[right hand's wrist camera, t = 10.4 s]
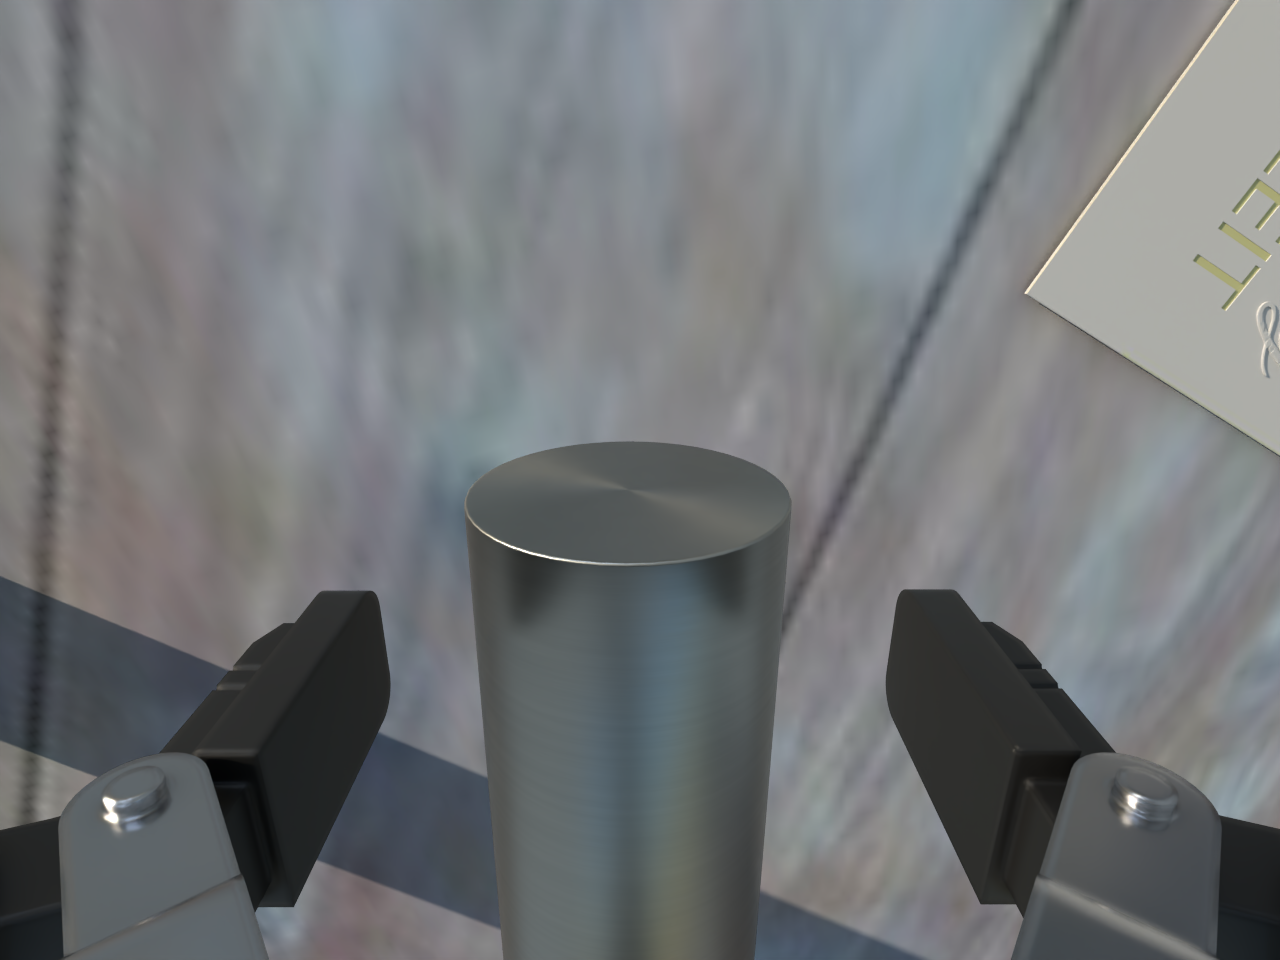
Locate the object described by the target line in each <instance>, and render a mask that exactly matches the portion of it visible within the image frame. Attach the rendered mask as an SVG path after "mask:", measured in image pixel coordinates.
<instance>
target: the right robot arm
mask: <svg viewBox="0 0 1280 960" xmlns="http://www.w3.org/2000/svg"><path fill="white" fill-rule="evenodd" d="M886 695H887V701H888V706H889V710H890V713H891V716H892V719H893V721H894V723H895V725H896V727H897V729H898V731H899V733H900V735H901V738H902V740H903V742H904V744H905V746H906V748H907V750H908V752H909V754H910V756H911V759H912V761H913V763H914V765H915V767H916V769H917V771H918V773H919V775H920V778H921V780H922V782H923V784H924V786H925V788H926V790H927V792H928V794H929V796H930V799H931V801H932V803H933V805H934V807H935V809H936V811H937V813H938V815H939V817H940V820H941V822H942V824H943V826H944V828H945V830H946V832H947V834H948V836H949V839H950V841H951V843H952V845H953V847H954V849H955V851H956V853H957V855H958V857H959V860H960V862H961V864H962V866H963V868H964V870H965V872H966V874H967V876H968V879H969V881H970V883H971V885H972V887H973V889H974V891H975V893H976V895H977V897H978V900H979V902H980V904H1016V905H1017V907H1018V909H1019V911H1020V913H1021V914H1022V916H1023V918H1024V919H1023V922H1022V925H1021V928H1020V932H1019V935H1018V938H1017V941H1016V945H1015V948H1014V951H1013V954H1012V958H1011V960H1280V829H1277V828H1273V827H1268V826H1264V825H1259V824H1255V823H1251V822H1246V821H1242V820H1237V819H1233V818H1228V817H1224V816H1220V815H1218V812H1217V811H1216V809H1215V808H1214V806H1213V804H1212V803H1211V802H1210V801H1209V800H1208V799H1207V797H1206V796H1205V795H1204V794H1203V793H1202V792H1201V791H1199V790H1198V789H1197V788H1196V787H1195V786H1194V785H1192V784H1191V783H1189V782H1188V781H1187V780H1185V779H1184V778H1182V777H1181V776H1179V775H1177V774H1176V773H1174V772H1172V771H1170V770H1168V769H1166V768H1164V767H1162V766H1160V765H1158V764H1155V763H1153V762H1150V761H1148V760H1145V759H1141V758H1138V757H1135V756H1130V755H1126V754H1119V753H1116V752H1115V751H1114V750H1113V749H1112V747H1111V746H1110V745H1109V744H1108V743H1107V742H1106V740H1105V739H1104V738H1103V737H1102V736H1101V734H1100V733H1099V732H1098V731H1097V730H1096V728H1095V727H1094V726H1093V725H1092V724H1091V723H1090V721H1089V720H1088V719H1087V718H1086V717H1085V715H1084V714H1083V713H1082V712H1081V711H1080V709H1079V708H1078V707H1077V706H1076V705H1075V704H1074V702H1073V701H1072V700H1071V699H1070V698H1069V696H1068V695H1067V694H1066V693H1065V692H1064V690H1063V689H1058V683H1057V682H1056V681H1055V680H1054V679H1053V677H1052V676H1051V675H1050V674H1049V673H1048V671H1047V670H1046V669H1042V664H1041V663H1040V662H1039V661H1038V660H1037V658H1036V657H1035V656H1034V655H1033V654H1032V652H1031V651H1030V650H1029V649H1028V648H1027V646H1026V645H1025V644H1024V643H1023V642H1022V641H1021V640H1019V639H1018V638H1016V637H1015V636H1013V635H1011V634H1010V633H1008V632H1007V631H1005V630H1004V629H1002V628H1001V627H999V626H997V625H996V624H994V623H993V622H980V620H979V619H978V618H977V617H976V615H975V614H974V613H973V612H972V610H971V609H970V608H969V606H968V605H967V604H966V603H965V601H964V600H963V599H962V597H961V596H960V595H959V594H958V593H957V592H956V591H955V590H903V591H901V593H900V594H899V597H898V600H897V604H896V610H895V617H894V624H893V631H892V638H891V645H890V652H889V659H888V666H887V673H886ZM389 698H390V672H389V665H388V658H387V652H386V645H385V638H384V631H383V624H382V618H381V611H380V605H379V601H378V598H377V595H376V594H375V593H374V592H373V591H321V592H320V593H319V594H318V595H317V596H316V597H315V598H314V600H313V601H312V602H311V603H310V605H309V606H308V607H307V608H306V610H305V611H304V612H303V613H302V615H301V616H300V617H299V618H298V620H297V621H296V622H295V623H283V624H282V625H280V626H279V627H277V628H276V629H274V630H272V631H271V632H269V633H268V634H266V635H265V636H263V637H262V638H260V639H258V640H257V641H255V642H254V643H253V644H252V645H251V646H250V647H249V648H248V649H247V651H246V652H245V653H244V654H243V655H242V656H241V658H240V659H239V660H238V661H237V662H236V664H235V665H234V666H233V671H229V672H228V673H227V674H226V675H225V677H224V678H223V679H222V680H221V681H220V682H219V684H218V685H217V690H213V691H212V692H211V693H210V694H209V695H208V697H207V698H206V699H205V700H204V701H203V702H202V704H201V705H200V706H199V707H198V708H197V709H196V711H195V712H194V713H193V714H192V715H191V717H190V718H189V719H188V720H187V721H186V722H185V724H184V725H183V726H182V727H181V728H180V729H179V731H178V732H177V733H176V734H175V735H174V737H173V738H172V739H171V740H170V741H169V742H168V744H167V745H166V746H165V747H164V748H163V749H162V751H161V752H160V753H159V754H154V755H150V756H145V757H142V758H139V759H135V760H132V761H130V762H127V763H125V764H122V765H120V766H118V767H116V768H114V769H112V770H110V771H108V772H106V773H104V774H103V775H101V776H99V777H98V778H96V779H95V780H93V781H92V782H91V783H89V784H88V785H86V786H85V787H84V788H83V789H82V790H81V791H79V792H78V793H77V794H76V795H75V796H74V797H73V799H72V800H71V801H70V802H69V803H68V804H67V806H66V808H65V809H64V811H63V812H62V815H61V816H59V817H56V818H52V819H48V820H43V821H39V822H35V823H30V824H26V825H21V826H17V827H12V828H8V829H4V830H0V960H269V958H268V954H267V951H266V948H265V945H264V941H263V938H262V935H261V932H260V928H259V925H258V922H257V919H256V916H255V912H256V910H257V908H258V907H294V905H295V903H296V901H297V899H298V897H299V895H300V893H301V891H302V889H303V887H304V885H305V883H306V881H307V878H308V876H309V874H310V872H311V870H312V868H313V866H314V864H315V862H316V860H317V858H318V856H319V853H320V851H321V849H322V847H323V845H324V843H325V841H326V839H327V837H328V835H329V833H330V831H331V829H332V826H333V824H334V822H335V820H336V818H337V816H338V814H339V812H340V810H341V808H342V806H343V804H344V802H345V799H346V797H347V795H348V793H349V791H350V789H351V787H352V785H353V783H354V781H355V779H356V777H357V775H358V772H359V770H360V768H361V766H362V764H363V762H364V760H365V758H366V756H367V754H368V752H369V750H370V747H371V745H372V743H373V741H374V739H375V737H376V735H377V733H378V731H379V729H380V727H381V725H382V723H383V720H384V718H385V716H386V712H387V709H388V704H389Z"/></svg>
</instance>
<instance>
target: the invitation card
mask: <svg viewBox="0 0 1280 960" xmlns="http://www.w3.org/2000/svg"><path fill="white" fill-rule="evenodd" d="M1025 294H1026V295H1028V296H1029V297H1031V298H1032V299H1034V300H1036V301H1037V302H1039V303H1040V304H1042V305H1043V306H1045V307H1047V308H1048V309H1050V310H1051V311H1053V312H1054V313H1056V314H1058V315H1059V316H1061V317H1062V318H1064V319H1065V320H1067V321H1069V322H1070V323H1072V324H1073V325H1075V326H1076V327H1078V328H1079V329H1081V330H1083V331H1084V332H1086V333H1087V334H1089V335H1090V336H1092V337H1094V338H1095V339H1097V340H1098V341H1100V342H1101V343H1103V344H1105V345H1106V346H1108V347H1109V348H1111V349H1112V350H1114V351H1116V352H1117V353H1119V354H1120V355H1122V356H1123V357H1125V358H1127V359H1128V360H1130V361H1131V362H1133V363H1134V364H1136V365H1138V366H1139V367H1141V368H1142V369H1144V370H1145V371H1147V372H1149V373H1150V374H1152V375H1153V376H1155V377H1156V378H1158V379H1160V380H1161V381H1163V382H1164V383H1166V384H1167V385H1169V386H1171V387H1172V388H1174V389H1175V390H1177V391H1178V392H1180V393H1182V394H1183V395H1185V396H1186V397H1188V398H1189V399H1191V400H1192V401H1194V402H1196V403H1197V404H1199V405H1200V406H1202V407H1203V408H1205V409H1207V410H1208V411H1210V412H1211V413H1213V414H1214V415H1216V416H1218V417H1219V418H1221V419H1222V420H1224V421H1225V422H1227V423H1229V424H1230V425H1232V426H1233V427H1235V428H1236V429H1238V430H1240V431H1241V432H1243V433H1244V434H1246V435H1247V436H1249V437H1251V438H1252V439H1254V440H1255V441H1257V442H1258V443H1260V444H1262V445H1263V446H1265V447H1266V448H1268V449H1269V450H1271V451H1273V452H1274V453H1276V454H1277V455H1279V456H1280V0H1235V2H1234V3H1233V4H1232V6H1231V7H1230V9H1229V10H1228V11H1227V13H1226V14H1225V16H1224V17H1223V18H1222V20H1221V21H1220V22H1219V24H1218V25H1217V27H1216V28H1215V29H1214V31H1213V32H1212V34H1211V35H1210V36H1209V38H1208V39H1207V41H1206V42H1205V43H1204V45H1203V46H1202V47H1201V49H1200V50H1199V52H1198V53H1197V54H1196V56H1195V57H1194V59H1193V60H1192V61H1191V63H1190V64H1189V66H1188V67H1187V68H1186V70H1185V71H1184V72H1183V74H1182V75H1181V77H1180V78H1179V79H1178V81H1177V82H1176V84H1175V85H1174V86H1173V88H1172V89H1171V91H1170V92H1169V93H1168V95H1167V96H1166V97H1165V99H1164V100H1163V102H1162V103H1161V104H1160V106H1159V107H1158V109H1157V110H1156V111H1155V113H1154V114H1153V115H1152V117H1151V118H1150V120H1149V121H1148V122H1147V124H1146V125H1145V127H1144V128H1143V129H1142V131H1141V132H1140V134H1139V135H1138V136H1137V138H1136V139H1135V140H1134V142H1133V143H1132V145H1131V146H1130V147H1129V149H1128V150H1127V152H1126V153H1125V154H1124V156H1123V157H1122V159H1121V160H1120V161H1119V163H1118V164H1117V165H1116V167H1115V168H1114V170H1113V171H1112V172H1111V174H1110V175H1109V177H1108V178H1107V179H1106V181H1105V182H1104V184H1103V185H1102V186H1101V188H1100V189H1099V190H1098V192H1097V193H1096V195H1095V196H1094V197H1093V199H1092V200H1091V202H1090V203H1089V204H1088V206H1087V207H1086V209H1085V210H1084V211H1083V213H1082V214H1081V215H1080V217H1079V218H1078V220H1077V221H1076V222H1075V224H1074V225H1073V227H1072V228H1071V229H1070V231H1069V232H1068V234H1067V235H1066V236H1065V238H1064V239H1063V240H1062V242H1061V243H1060V245H1059V246H1058V247H1057V249H1056V250H1055V252H1054V253H1053V254H1052V256H1051V257H1050V258H1049V260H1048V261H1047V263H1046V264H1045V265H1044V267H1043V268H1042V270H1041V271H1040V272H1039V274H1038V275H1037V277H1036V278H1035V279H1034V281H1033V282H1032V283H1031V285H1030V286H1029V288H1028V289H1027V290H1026V292H1025Z"/></svg>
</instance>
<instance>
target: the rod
mask: <svg viewBox="0 0 1280 960" xmlns="http://www.w3.org/2000/svg"><path fill="white" fill-rule="evenodd" d="M790 519H791V499H790V496H789V493H788V490H787V489H786V488H785V486H784V485H783V483H782V482H781V481H779V480H778V479H777V478H776V477H775V476H774V475H772V474H771V473H769V472H768V471H766V470H765V469H763V468H761V467H759V466H757V465H755V464H753V463H750V462H748V461H745V460H743V459H740V458H737V457H734V456H731V455H728V454H724V453H720V452H716V451H713V450H708V449H703V448H698V447H692V446H685V445H677V444H668V443H655V442H603V443H590V444H580V445H573V446H566V447H560V448H555V449H550V450H545V451H541V452H537V453H533V454H529V455H526V456H523V457H520V458H517V459H514V460H512V461H509V462H507V463H504V464H502V465H500V466H498V467H496V468H494V469H492V470H491V471H489V472H488V473H486V474H484V475H483V476H482V477H480V478H479V479H478V480H477V481H476V482H475V483H474V484H473V485H472V487H471V488H470V489H469V491H468V494H467V496H466V499H465V520H466V532H467V544H468V555H469V567H470V578H471V590H472V601H473V613H474V625H475V636H476V648H477V659H478V671H479V682H480V694H481V705H482V717H483V729H484V740H485V752H486V763H487V775H488V786H489V798H490V810H491V821H492V833H493V844H494V856H495V867H496V879H497V890H498V902H499V914H500V925H501V937H502V948H503V960H754V956H755V944H756V932H757V920H758V908H759V896H760V883H761V871H762V859H763V847H764V835H765V823H766V810H767V798H768V786H769V774H770V762H771V750H772V737H773V725H774V713H775V701H776V689H777V677H778V664H779V652H780V640H781V628H782V616H783V604H784V591H785V579H786V567H787V555H788V543H789V531H790Z"/></svg>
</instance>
